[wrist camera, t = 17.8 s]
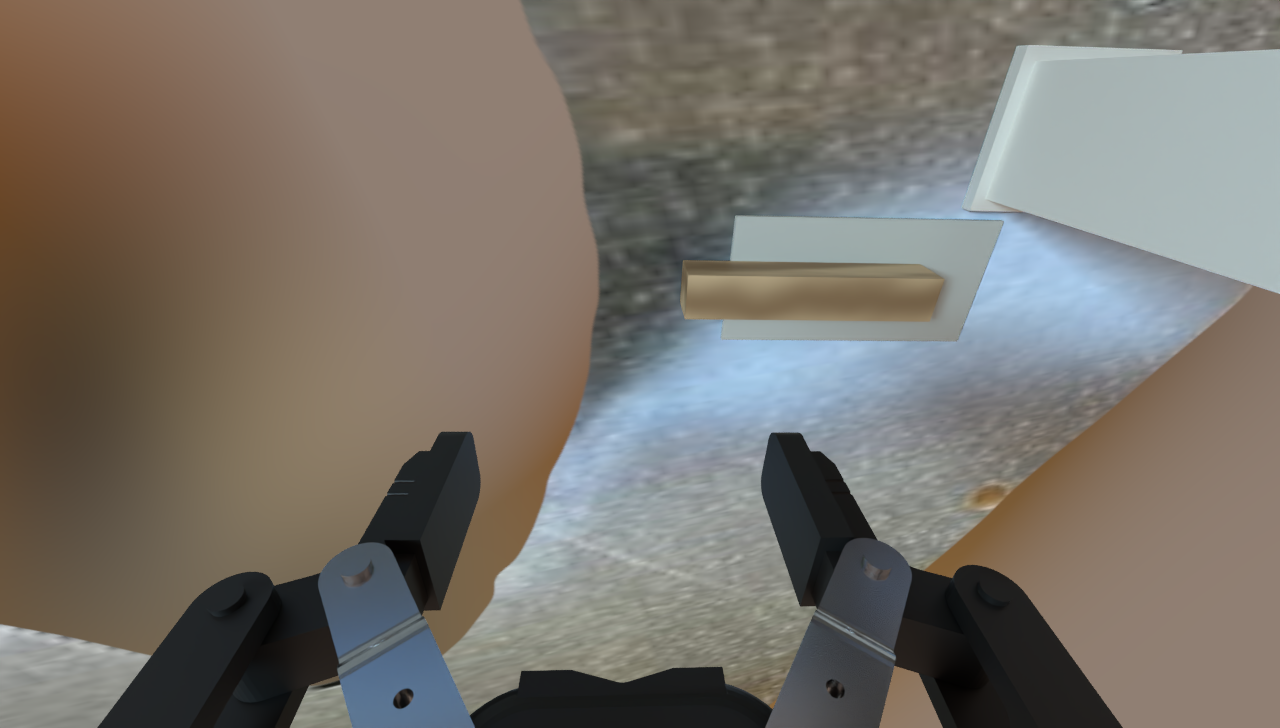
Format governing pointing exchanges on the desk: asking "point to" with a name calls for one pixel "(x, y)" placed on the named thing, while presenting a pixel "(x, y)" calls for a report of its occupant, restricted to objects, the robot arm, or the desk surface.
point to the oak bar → (808, 291)
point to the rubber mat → (930, 242)
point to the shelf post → (1144, 152)
